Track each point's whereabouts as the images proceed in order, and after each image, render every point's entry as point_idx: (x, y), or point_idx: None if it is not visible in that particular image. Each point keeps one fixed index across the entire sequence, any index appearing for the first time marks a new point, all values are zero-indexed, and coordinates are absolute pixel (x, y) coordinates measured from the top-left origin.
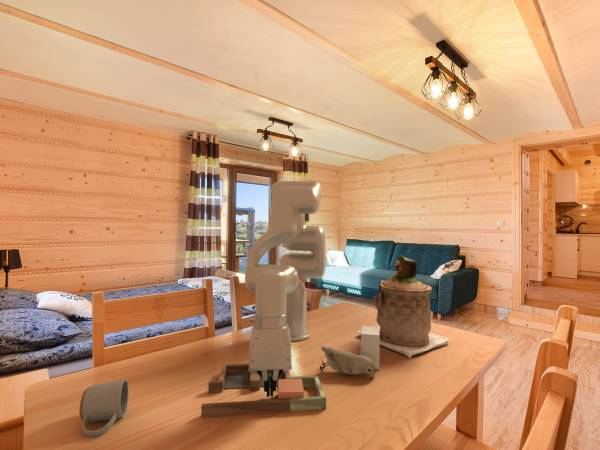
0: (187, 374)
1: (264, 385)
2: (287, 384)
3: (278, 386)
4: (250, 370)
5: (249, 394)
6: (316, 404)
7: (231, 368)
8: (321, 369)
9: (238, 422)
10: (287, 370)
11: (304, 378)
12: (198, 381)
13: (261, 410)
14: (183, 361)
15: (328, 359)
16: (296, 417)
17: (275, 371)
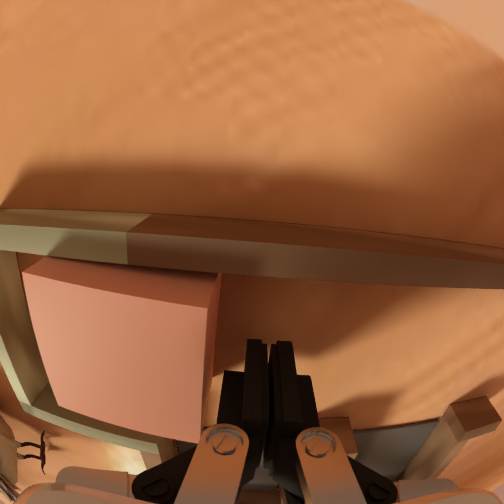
0: (482, 458)
1: (311, 405)
2: (133, 385)
3: (201, 382)
4: (440, 488)
5: (359, 393)
6: (11, 215)
7: None
8: (41, 441)
9: (457, 178)
10: (99, 472)
11: (70, 418)
12: (478, 440)
13: (341, 231)
14: None
15: (3, 455)
16: (124, 150)
17: (214, 494)
